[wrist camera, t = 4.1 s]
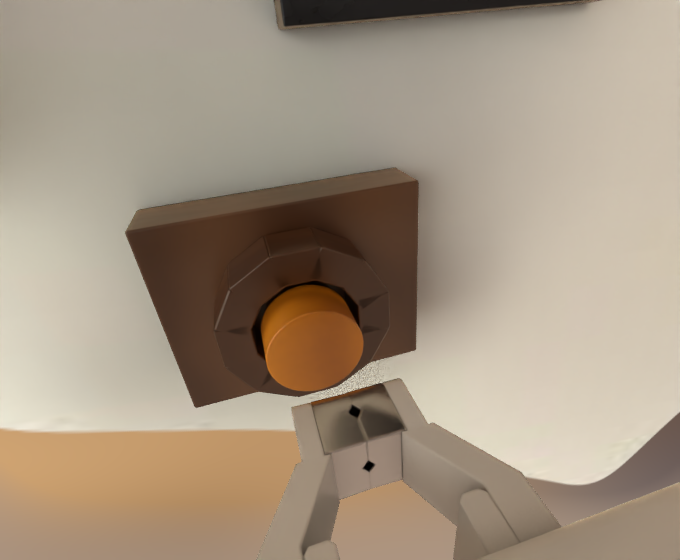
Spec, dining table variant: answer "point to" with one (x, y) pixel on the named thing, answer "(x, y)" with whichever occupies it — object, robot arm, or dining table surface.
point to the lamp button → (310, 338)
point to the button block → (278, 271)
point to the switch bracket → (388, 9)
